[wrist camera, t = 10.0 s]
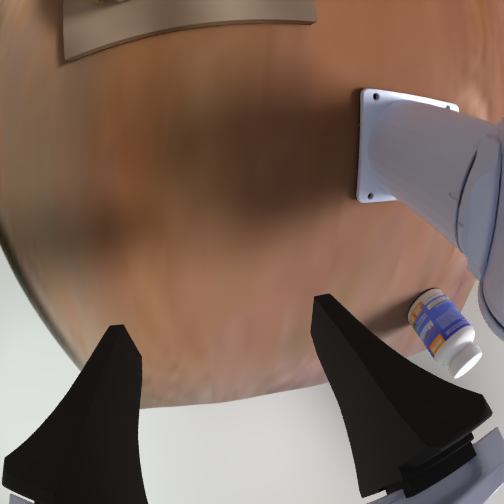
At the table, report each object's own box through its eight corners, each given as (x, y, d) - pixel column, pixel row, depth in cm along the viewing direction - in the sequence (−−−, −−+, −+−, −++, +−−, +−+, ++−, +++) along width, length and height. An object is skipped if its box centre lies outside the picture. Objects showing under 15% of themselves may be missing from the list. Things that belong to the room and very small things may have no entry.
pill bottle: (407, 300, 26) (454, 369, 18) (443, 279, 26) (493, 339, 18) (405, 328, 29) (443, 390, 21) (439, 308, 29) (479, 364, 21)
